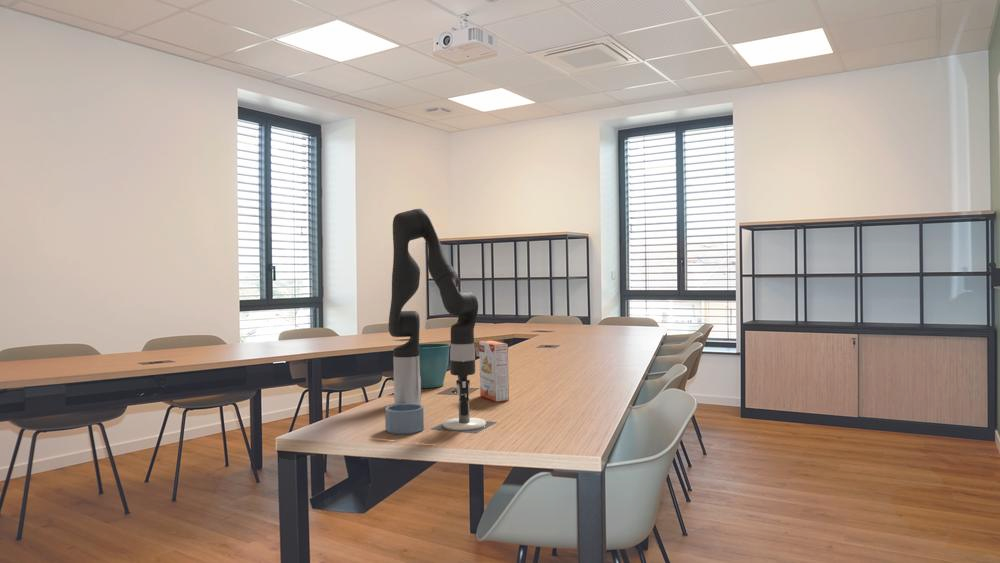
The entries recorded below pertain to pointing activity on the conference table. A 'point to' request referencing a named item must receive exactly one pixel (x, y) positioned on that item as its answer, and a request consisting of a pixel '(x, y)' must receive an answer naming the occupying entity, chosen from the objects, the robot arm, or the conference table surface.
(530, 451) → the conference table surface
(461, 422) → the lid
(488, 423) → the mat
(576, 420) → the conference table surface
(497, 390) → the cracker box
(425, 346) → the flower pot
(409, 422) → the bowl
